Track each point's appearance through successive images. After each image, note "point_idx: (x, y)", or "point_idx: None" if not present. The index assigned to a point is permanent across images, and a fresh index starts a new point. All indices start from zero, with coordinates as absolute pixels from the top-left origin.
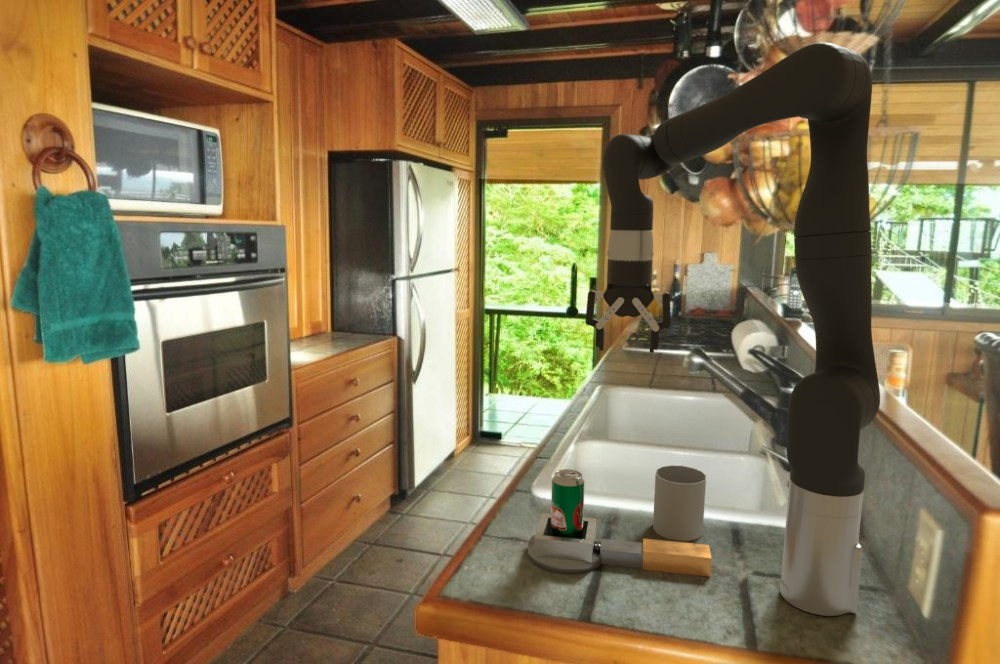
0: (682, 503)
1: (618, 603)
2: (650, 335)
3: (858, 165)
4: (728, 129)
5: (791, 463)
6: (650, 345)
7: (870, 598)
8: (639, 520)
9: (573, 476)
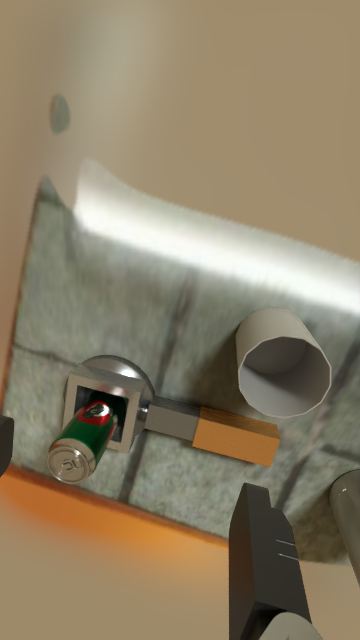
0: (269, 397)
1: (156, 483)
2: (230, 627)
3: None
4: None
5: None
6: (230, 567)
7: None
8: (222, 311)
9: (75, 474)
